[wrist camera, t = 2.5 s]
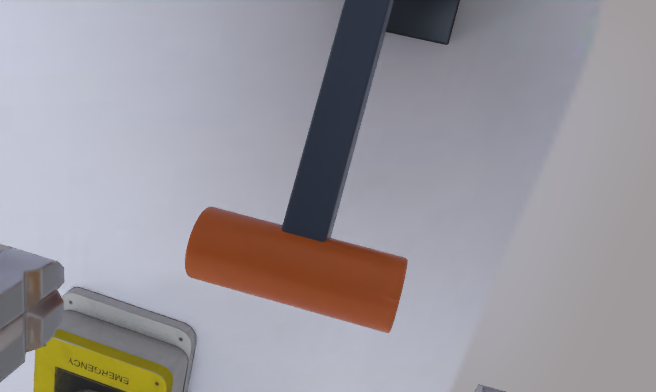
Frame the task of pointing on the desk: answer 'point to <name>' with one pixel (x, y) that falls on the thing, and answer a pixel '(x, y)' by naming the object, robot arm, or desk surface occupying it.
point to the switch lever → (313, 205)
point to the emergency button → (114, 349)
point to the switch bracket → (423, 19)
